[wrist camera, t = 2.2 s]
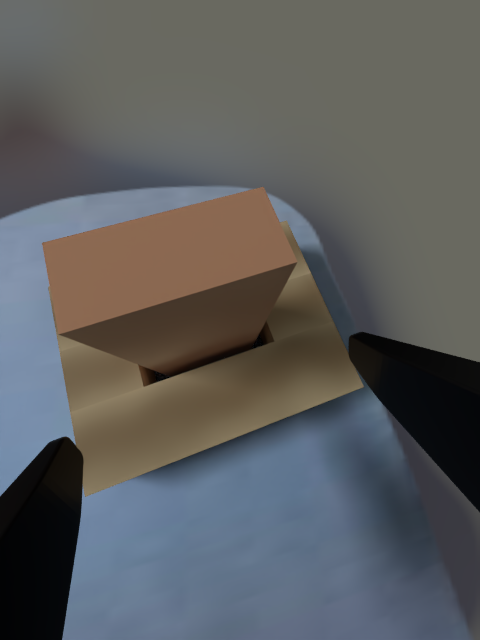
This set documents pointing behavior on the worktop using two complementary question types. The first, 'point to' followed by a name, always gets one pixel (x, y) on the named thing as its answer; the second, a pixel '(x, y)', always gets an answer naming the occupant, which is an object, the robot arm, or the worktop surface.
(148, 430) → the pine slot box
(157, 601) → the worktop surface
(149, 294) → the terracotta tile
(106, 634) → the worktop surface
